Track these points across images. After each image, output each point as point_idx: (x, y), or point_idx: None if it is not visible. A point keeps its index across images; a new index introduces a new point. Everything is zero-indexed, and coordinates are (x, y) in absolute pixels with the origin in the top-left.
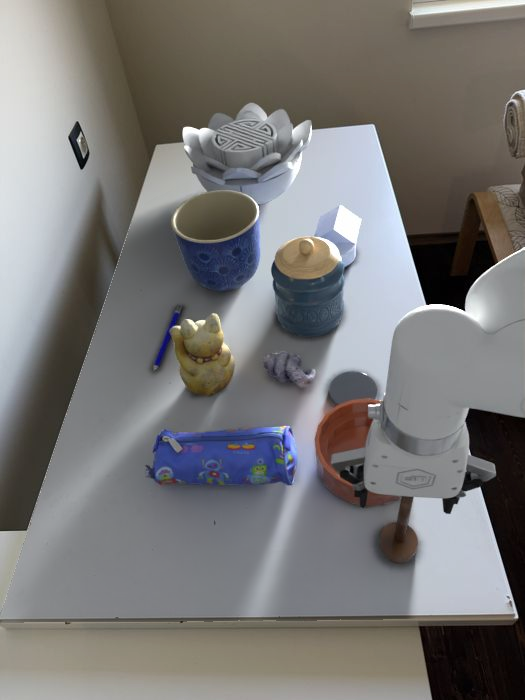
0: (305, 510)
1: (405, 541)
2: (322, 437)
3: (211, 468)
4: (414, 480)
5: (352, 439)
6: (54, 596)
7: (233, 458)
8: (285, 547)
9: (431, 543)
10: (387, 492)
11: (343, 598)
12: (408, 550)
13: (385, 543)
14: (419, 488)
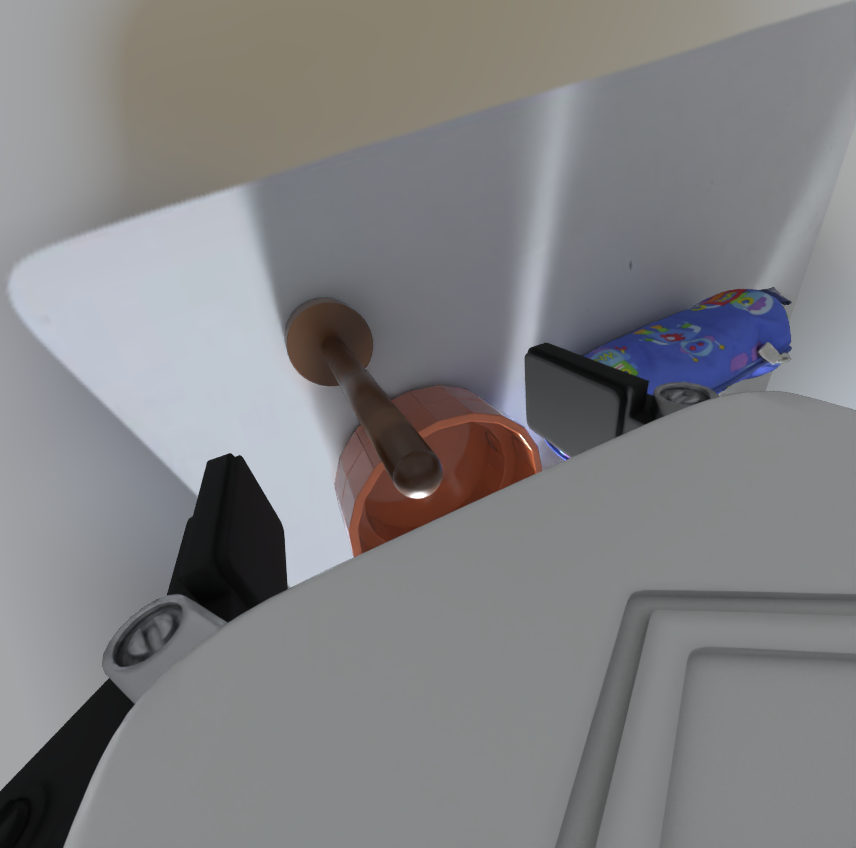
0: (502, 342)
1: (316, 347)
2: (513, 474)
3: (691, 342)
4: None
5: (454, 490)
6: (840, 44)
7: (679, 372)
8: (525, 258)
9: (258, 370)
10: (700, 433)
11: (404, 175)
12: (303, 329)
13: (357, 327)
14: (603, 661)
